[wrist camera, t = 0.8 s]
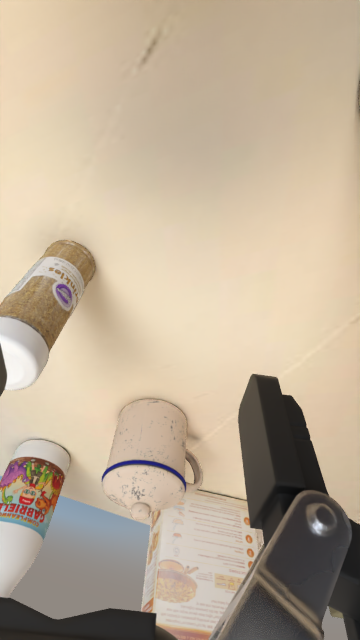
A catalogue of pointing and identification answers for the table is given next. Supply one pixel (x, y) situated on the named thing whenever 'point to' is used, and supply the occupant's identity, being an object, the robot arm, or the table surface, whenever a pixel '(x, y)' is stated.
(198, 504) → the coffeecake box
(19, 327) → the sprinkles bottle
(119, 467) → the teacup with lid
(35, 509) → the milk bottle
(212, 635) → the robot arm
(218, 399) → the table surface
